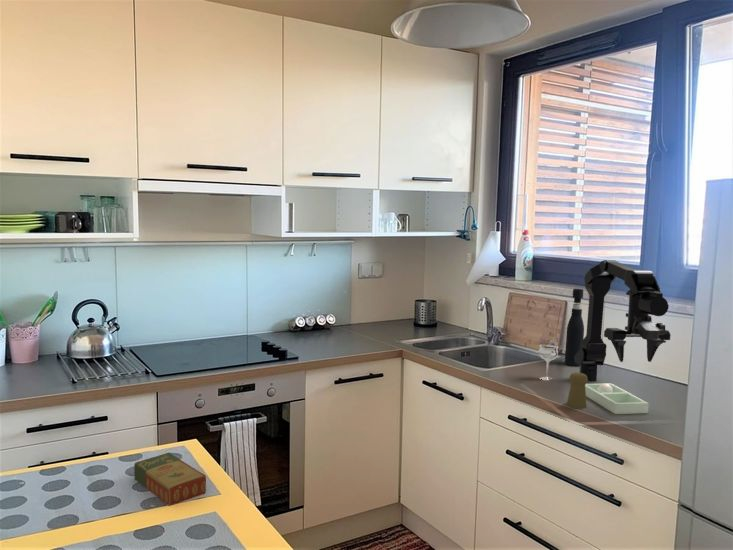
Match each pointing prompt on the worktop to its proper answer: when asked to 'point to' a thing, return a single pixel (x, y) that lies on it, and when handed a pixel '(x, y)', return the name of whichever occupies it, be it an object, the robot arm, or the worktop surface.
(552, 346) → the wineglass
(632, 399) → the green divided tray
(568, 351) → the wine bottle
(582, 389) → the cork
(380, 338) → the worktop surface
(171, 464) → the carton
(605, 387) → the egg
